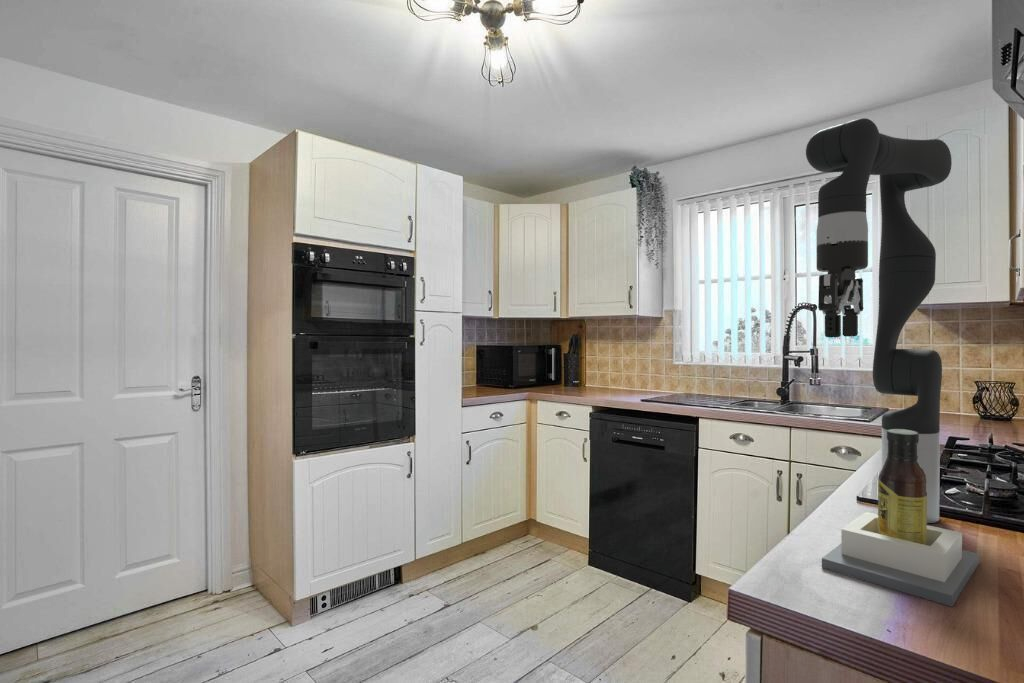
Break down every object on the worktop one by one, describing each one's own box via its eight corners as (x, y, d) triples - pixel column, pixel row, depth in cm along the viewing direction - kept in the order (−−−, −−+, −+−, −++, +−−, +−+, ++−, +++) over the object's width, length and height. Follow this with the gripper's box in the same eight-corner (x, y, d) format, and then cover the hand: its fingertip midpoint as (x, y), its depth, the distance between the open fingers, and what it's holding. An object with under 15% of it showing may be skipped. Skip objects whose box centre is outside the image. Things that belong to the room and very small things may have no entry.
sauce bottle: (879, 544, 89) (879, 425, 88) (927, 553, 85) (927, 429, 85) (876, 557, 84) (876, 431, 83) (926, 568, 80) (926, 436, 79)
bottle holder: (863, 534, 97) (863, 504, 97) (979, 563, 85) (979, 528, 85) (821, 567, 84) (821, 532, 84) (952, 606, 72) (952, 566, 71)
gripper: (832, 248, 99) (832, 336, 99) (801, 241, 89) (801, 337, 90) (880, 243, 93) (879, 336, 93) (852, 234, 84) (852, 337, 84)
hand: (841, 336), depth 92 cm, fingers open, 8 cm apart
